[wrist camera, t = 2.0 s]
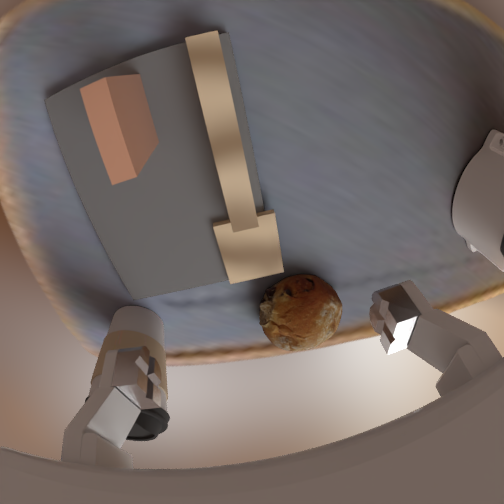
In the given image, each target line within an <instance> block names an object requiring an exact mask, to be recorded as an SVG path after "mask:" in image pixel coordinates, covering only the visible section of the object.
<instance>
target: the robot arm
mask: <svg viewBox="0 0 504 504" xmlns="http://www.w3.org/2000/svg"><path fill="white" fill-rule="evenodd" d="M452 219H453V224H454V228H455V230H456V231H457V233H458V234H459V235H460V236H462V237H463V238H464V239H465V240H466V243H467V247H468V248H469V249H470V250H471V251H472V252H475V251H477V250H478V251H479V252H480V253H482V254H483V255H484V256H485V257H486V258H487V259H489V260H490V261H491V262H492V263H493V264H494V265H496V266H497V267H498V268H499V269H500V270H501V271H503V272H504V133H502V132H500V131H497V130H495V129H493V130H491V131H490V133H489V134H488V136H487V138H486V141H485V143H484V145H483V147H482V148H481V150H480V151H479V152H478V153H477V154H476V155H475V156H474V157H473V158H472V160H471V161H470V162H469V164H468V165H467V167H466V168H465V170H464V172H463V174H462V176H461V178H460V181H459V183H458V186H457V189H456V192H455V196H454V201H453V208H452ZM372 301H373V303H374V304H373V305H372V306H371V307H370V313H369V315H370V321H371V324H372V327H373V328H374V330H375V332H377V333H379V334H381V339H380V342H381V343H382V345H383V347H384V349H385V351H386V353H387V354H390V353H393V352H396V351H399V350H401V349H404V348H406V347H407V349H409V350H410V351H411V352H413V353H414V354H416V355H417V356H419V357H420V358H422V359H423V360H425V361H426V362H427V363H429V364H430V365H432V366H433V367H435V368H436V369H438V370H439V371H441V372H442V373H443V374H442V376H441V377H440V378H439V380H438V382H437V383H436V388H437V390H438V392H439V394H440V396H441V398H438V399H437V400H435V401H433V402H431V403H429V404H427V405H425V406H423V407H421V408H419V409H417V410H415V411H413V412H411V413H409V414H406V415H404V416H402V417H400V418H397V419H395V420H393V421H390V422H388V423H386V424H383V425H381V426H378V427H376V428H373V429H371V430H368V431H365V432H363V433H360V434H357V435H354V436H351V437H348V438H346V439H342V440H339V441H336V442H333V443H330V444H326V445H323V446H320V447H316V448H312V449H308V450H304V451H301V452H296V453H292V454H288V455H284V456H279V457H274V458H269V459H264V460H258V461H252V462H246V463H239V464H232V465H224V466H214V467H202V468H189V469H133V457H132V455H131V454H130V453H128V452H126V451H124V450H122V449H121V446H122V445H123V443H124V441H125V439H126V437H127V436H128V434H129V432H130V430H131V428H132V426H133V425H134V423H135V421H136V419H137V417H138V415H139V414H140V412H141V410H142V409H152V408H161V391H160V390H159V389H158V386H159V384H160V383H161V379H162V374H161V369H160V366H159V364H158V362H157V360H156V359H155V358H153V357H151V356H149V355H150V351H149V350H148V349H147V347H146V346H141V347H133V348H124V349H116V350H108V352H107V353H106V355H105V360H104V365H103V371H102V376H101V382H100V388H96V389H95V391H94V392H93V393H92V395H91V396H90V397H89V398H88V400H87V401H86V402H85V404H84V405H83V406H82V408H81V409H80V410H79V412H78V413H77V414H76V416H75V417H74V419H73V420H72V421H71V422H70V424H69V425H68V426H67V428H66V429H65V432H64V438H63V446H62V455H61V461H60V460H54V459H50V458H45V457H41V456H37V455H33V454H29V453H25V452H21V451H18V450H14V449H11V448H8V447H0V504H504V357H502V356H501V354H500V353H499V351H498V350H497V348H496V347H495V345H494V344H493V342H492V341H491V339H490V338H489V336H488V335H487V333H486V332H484V331H482V330H480V329H478V328H476V327H474V326H472V325H470V324H468V323H466V322H464V321H462V320H460V319H457V318H455V317H453V316H451V315H449V314H447V313H445V312H443V311H441V310H439V309H433V308H432V307H431V305H430V304H429V303H428V301H427V300H426V298H425V297H424V296H423V295H422V293H421V292H420V291H419V289H418V288H417V287H416V285H415V284H414V283H413V282H412V281H411V280H408V281H405V282H402V283H399V284H395V285H392V286H389V287H386V288H383V289H380V290H377V291H374V293H373V294H372Z"/></svg>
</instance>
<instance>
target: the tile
mask: <svg viewBox="0 0 504 504" xmlns="http://www.w3.org/2000/svg"><path fill="white" fill-rule="evenodd" d="M80 92H81V95H82V99H83V102H84V105H85V109H86V112H87V115H88V118H89V122H90V125H91V128H92V131H93V134H94V137H95V140H96V143H97V145H98V148H99V151H100V154H101V157H102V159H103V162H104V165H105V168H106V170H107V173H108V175H109V178H110V181H111V183H112V185H114V184H117V183H120V182H123V181H126V180H129V179H132V178H135V177H137V176H138V174H139V173H140V171H141V170H142V168H143V166H144V165H145V163H146V162H147V160H148V158H149V157H150V155H151V154H152V152H153V151H154V149H155V148H156V146H157V145H158V143H159V140H158V137H157V133H156V130H155V127H154V123H153V120H152V116H151V113H150V109H149V106H148V102H147V98H146V95H145V91H144V87H143V84H142V80H141V76H140V74H133V75H121V76H111V77H105V78H102V79H100V80H98V81H96V82H93V83H91V84H89V85H87V86H85V87H83V88H81V89H80Z"/></svg>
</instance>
